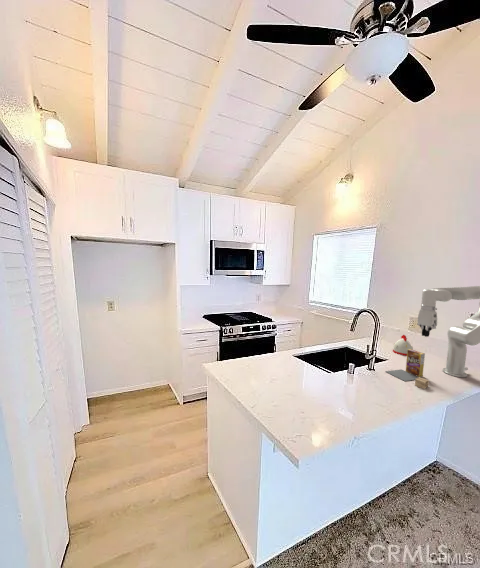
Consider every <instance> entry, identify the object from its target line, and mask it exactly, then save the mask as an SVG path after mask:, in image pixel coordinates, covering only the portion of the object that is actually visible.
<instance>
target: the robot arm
mask: <svg viewBox="0 0 480 568" xmlns="http://www.w3.org/2000/svg"><path fill="white" fill-rule="evenodd" d="M450 300H454V301H469V300H471V301H472V300H479V301H478V311H477V312H476V313H474V314H473V315H470V317H468V318H466V320H464V321H463V323H462V326H459V325H458V326H456V325H454V326H451V327H449V328H448V329H447V341H448V344H447V353H446V363H445V368H442V372H443V373H445V374H447V375H449V376H452V377H458V378H467V377H468V374H467V373H466V372H465V371H468V370H469V368H468V367H466V361H467V360H466V359H467V351H468V350H467V349H468V348H467V345H468V346H473V347H474V346H477V345H479V344H480V285H474V286H458V287H457V286H456V287H436V288H431V289H429V288H428V289H427V288H426V289H423V290H422V295H421V305H420V309H419V310H418V311H419V312H418V316H417V323H416V325H417V326H419V327H420V329H421V336H423V337H424V338H425V337H426V338H428V337H430V333H431V331H432V330H436V329H437V325H438V312H437V310H438V308H437V307H436V303H437V301H438V302H443V303H445V302H449V301H450Z"/></svg>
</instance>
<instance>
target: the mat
mask: <svg viewBox="0 0 480 568" xmlns="http://www.w3.org/2000/svg"><path fill="white" fill-rule="evenodd" d="M385 373H387V374H389V375H390V376H392V377H395V378H397V379H398V380H401V381H403V382H410V381H415V379H416V378H419V377H418V376H415V375H413V374H411V373H408V372H406V370H404V369H401V368H400V369H395V370H386V371H385Z"/></svg>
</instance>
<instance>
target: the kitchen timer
mask: <svg viewBox="0 0 480 568" xmlns="http://www.w3.org/2000/svg"><path fill="white" fill-rule="evenodd" d="M409 349H412V350H414V347H413V345H411V343H410V342H409V341H408V338H407V336H406V335H405V334H402V335H401V336H400V339H398V340H397V341H396V342H395V343H393V348H392V352H393V353H394V354H396V353H397V355H399V354H400V356H406V357H407V350H409Z"/></svg>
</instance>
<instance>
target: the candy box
mask: <svg viewBox="0 0 480 568" xmlns="http://www.w3.org/2000/svg"><path fill="white" fill-rule="evenodd" d="M425 355H426V353H424V352H421V351H418V350H416V349H415V350H414V349H413V350H412V349H409V350H407V356H406V363H405V371H406V372H408V373H411V374H413V375H415V376H417V377H420V378H422V377H423V375H424V365H425V357H426V356H425Z"/></svg>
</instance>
